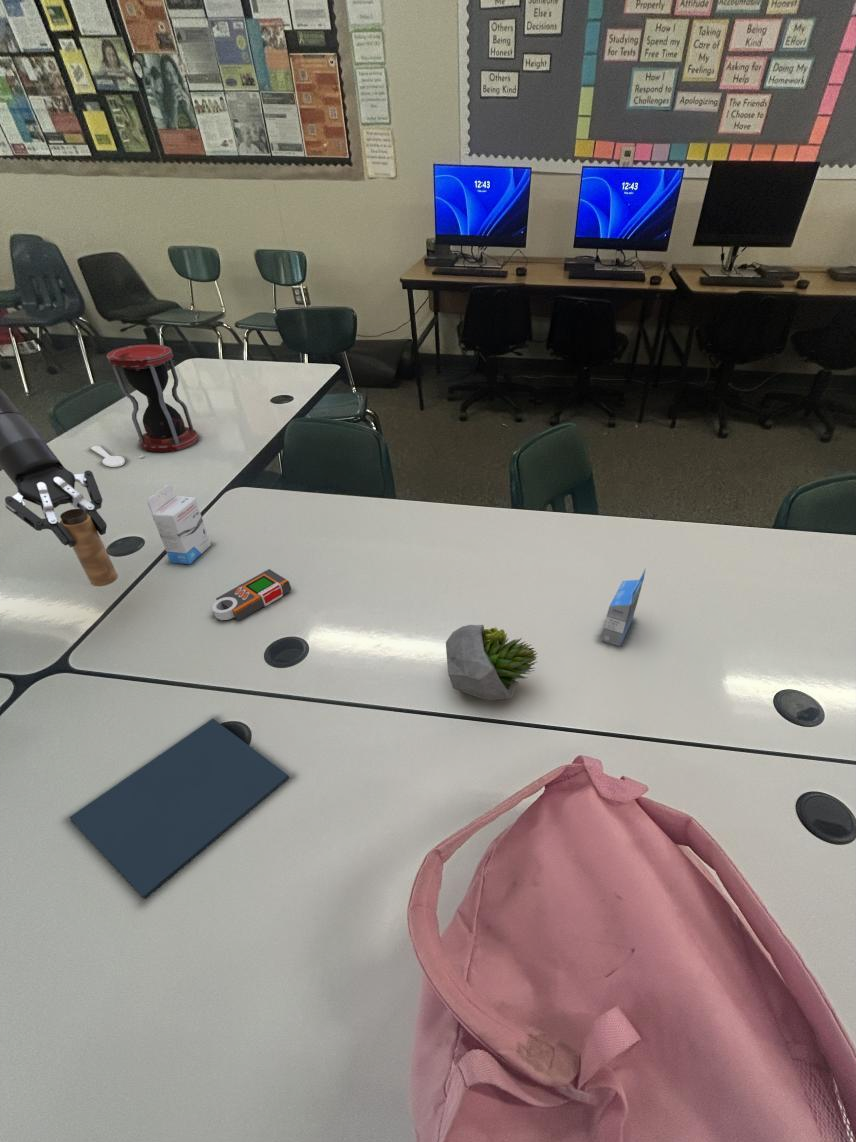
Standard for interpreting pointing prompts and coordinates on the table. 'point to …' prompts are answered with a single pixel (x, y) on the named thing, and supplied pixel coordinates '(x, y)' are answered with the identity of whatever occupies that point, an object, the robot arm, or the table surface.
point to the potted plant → (486, 662)
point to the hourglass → (153, 397)
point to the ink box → (179, 525)
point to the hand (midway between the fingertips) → (88, 538)
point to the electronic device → (251, 596)
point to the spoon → (109, 457)
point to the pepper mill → (89, 547)
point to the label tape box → (622, 611)
